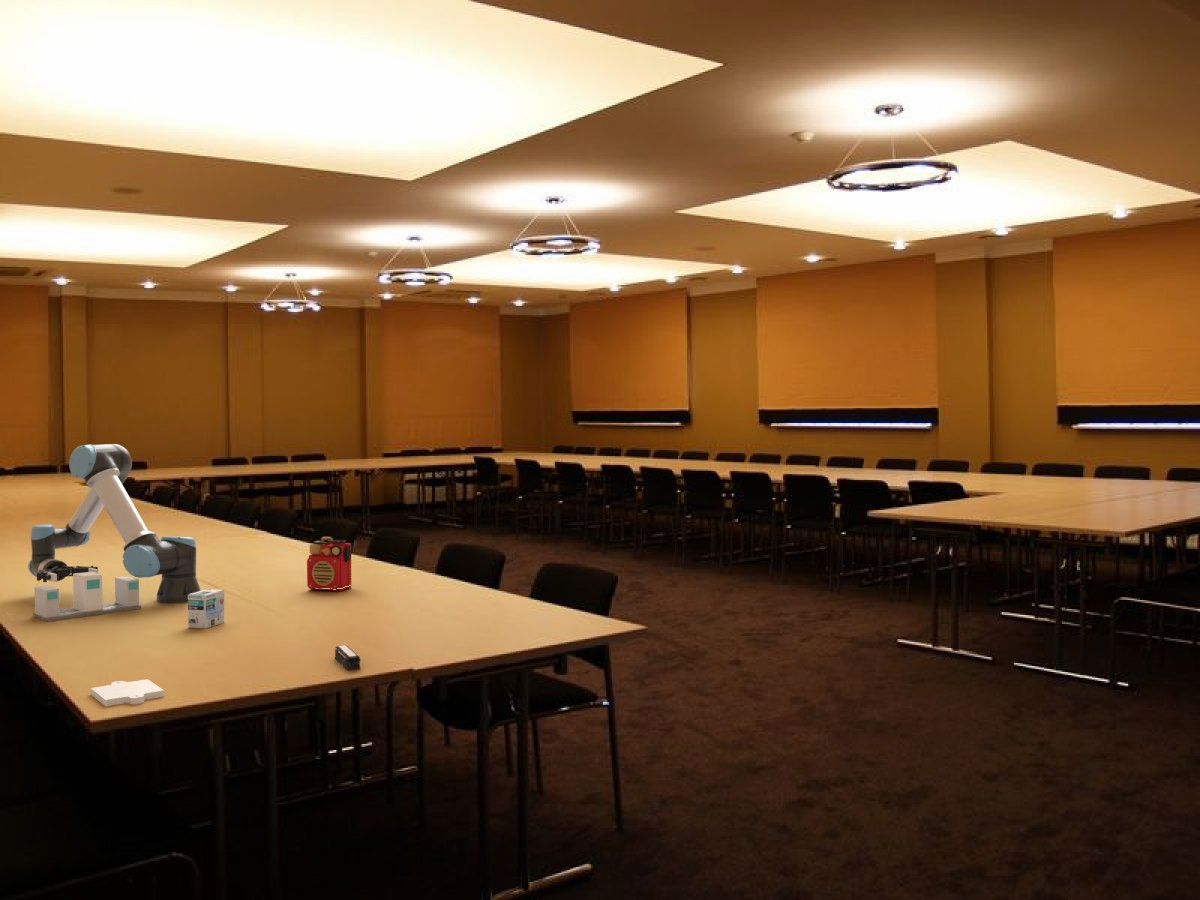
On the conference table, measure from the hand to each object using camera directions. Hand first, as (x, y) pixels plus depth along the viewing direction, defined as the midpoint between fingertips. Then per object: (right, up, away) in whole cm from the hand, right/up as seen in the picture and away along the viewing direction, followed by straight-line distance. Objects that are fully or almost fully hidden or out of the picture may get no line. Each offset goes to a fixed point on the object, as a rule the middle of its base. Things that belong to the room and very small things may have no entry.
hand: (76, 575), depth 347 cm
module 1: (-1, -11, -17) cm, 20 cm away
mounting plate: (+69, -16, -107) cm, 128 cm away
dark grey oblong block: (+113, -15, -74) cm, 136 cm away
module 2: (+17, -11, +2) cm, 20 cm away
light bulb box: (+56, -13, -27) cm, 63 cm away
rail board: (+8, -11, -8) cm, 16 cm away
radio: (+78, -10, +39) cm, 88 cm away
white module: (+8, -10, -8) cm, 15 cm away
